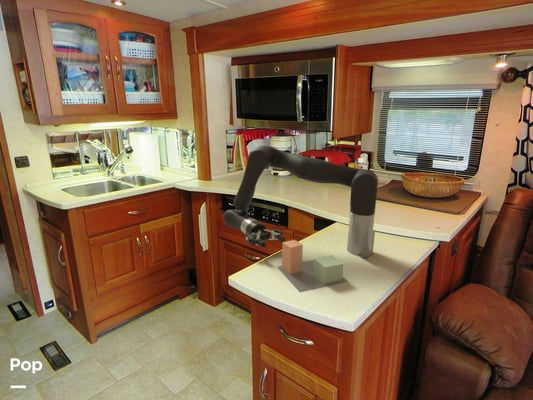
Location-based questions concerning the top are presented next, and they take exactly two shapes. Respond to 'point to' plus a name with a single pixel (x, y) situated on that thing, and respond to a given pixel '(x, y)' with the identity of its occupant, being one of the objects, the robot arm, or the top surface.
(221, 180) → the top surface
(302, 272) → the baseplate
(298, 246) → the top brick
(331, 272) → the bottom brick
